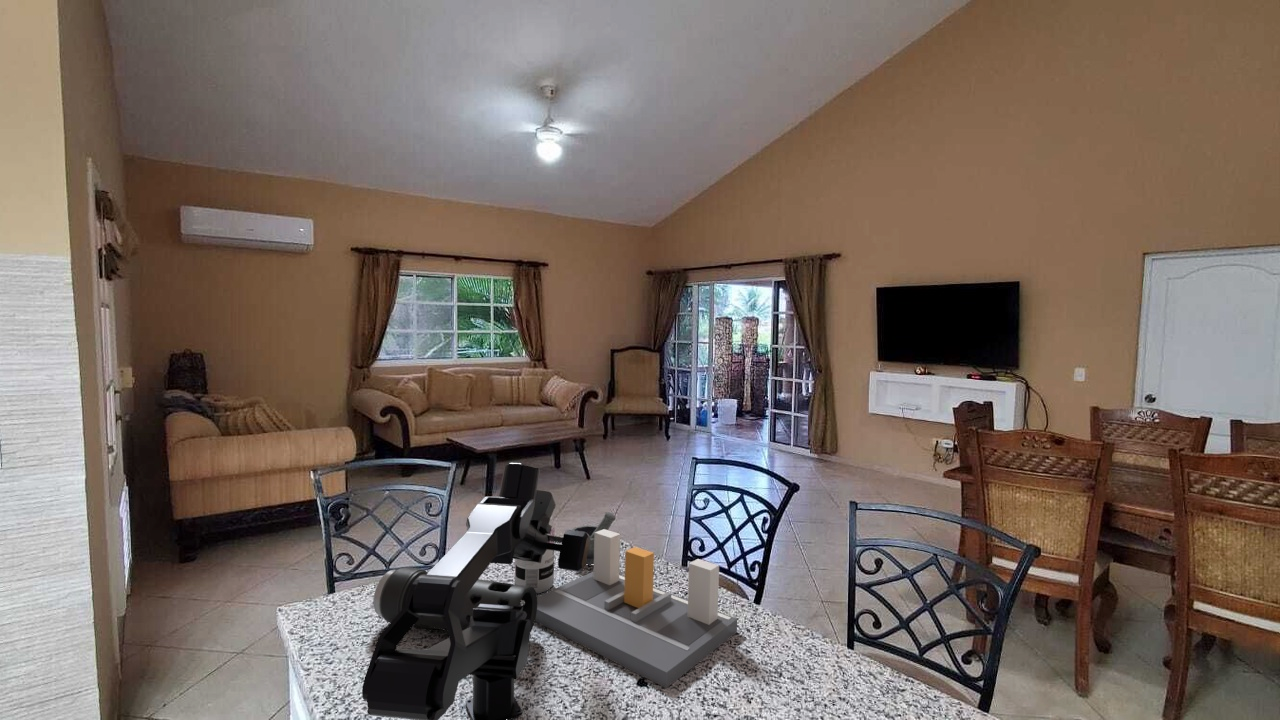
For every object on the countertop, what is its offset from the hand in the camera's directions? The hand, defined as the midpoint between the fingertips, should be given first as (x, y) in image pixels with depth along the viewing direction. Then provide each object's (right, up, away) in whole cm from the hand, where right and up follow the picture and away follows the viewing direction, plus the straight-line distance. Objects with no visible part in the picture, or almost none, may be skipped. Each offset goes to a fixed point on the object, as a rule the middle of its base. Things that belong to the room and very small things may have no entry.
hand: (549, 551), depth 101 cm
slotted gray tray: (+14, -15, +3) cm, 21 cm away
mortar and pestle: (+5, -14, +33) cm, 36 cm away
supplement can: (-6, -14, +18) cm, 24 cm away
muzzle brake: (-17, -14, -1) cm, 22 cm away
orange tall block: (+16, -12, +6) cm, 21 cm away
